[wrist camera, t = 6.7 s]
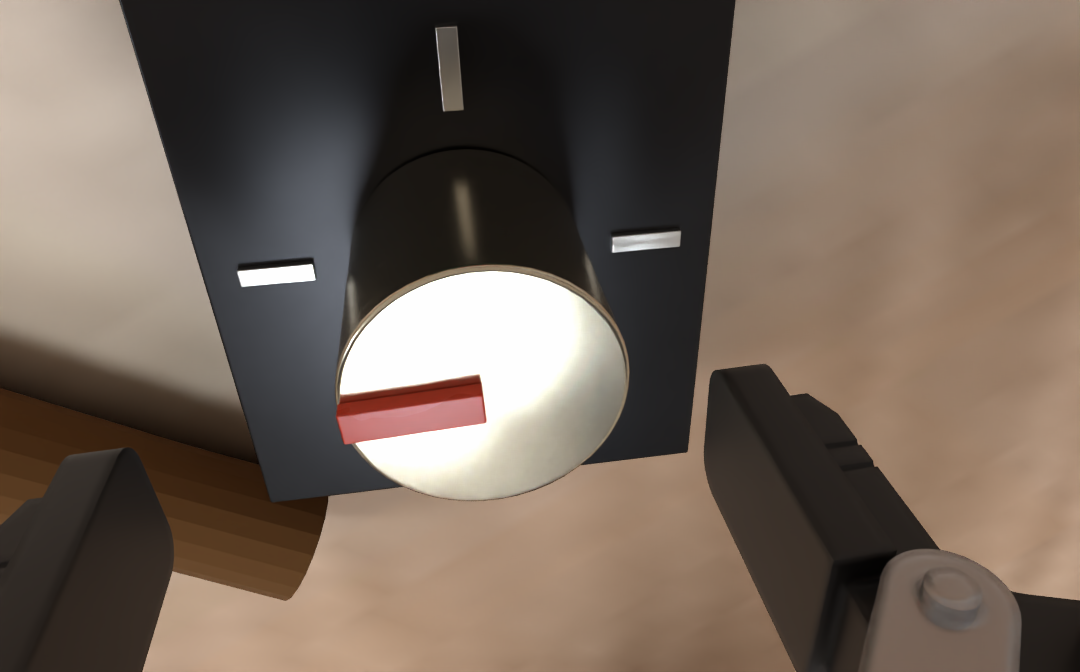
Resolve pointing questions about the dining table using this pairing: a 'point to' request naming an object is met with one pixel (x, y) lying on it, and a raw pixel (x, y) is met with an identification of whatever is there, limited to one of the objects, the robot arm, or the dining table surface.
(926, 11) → the dining table surface
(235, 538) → the hammer
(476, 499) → the dial
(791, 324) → the dining table surface
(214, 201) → the panel
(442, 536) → the dining table surface
